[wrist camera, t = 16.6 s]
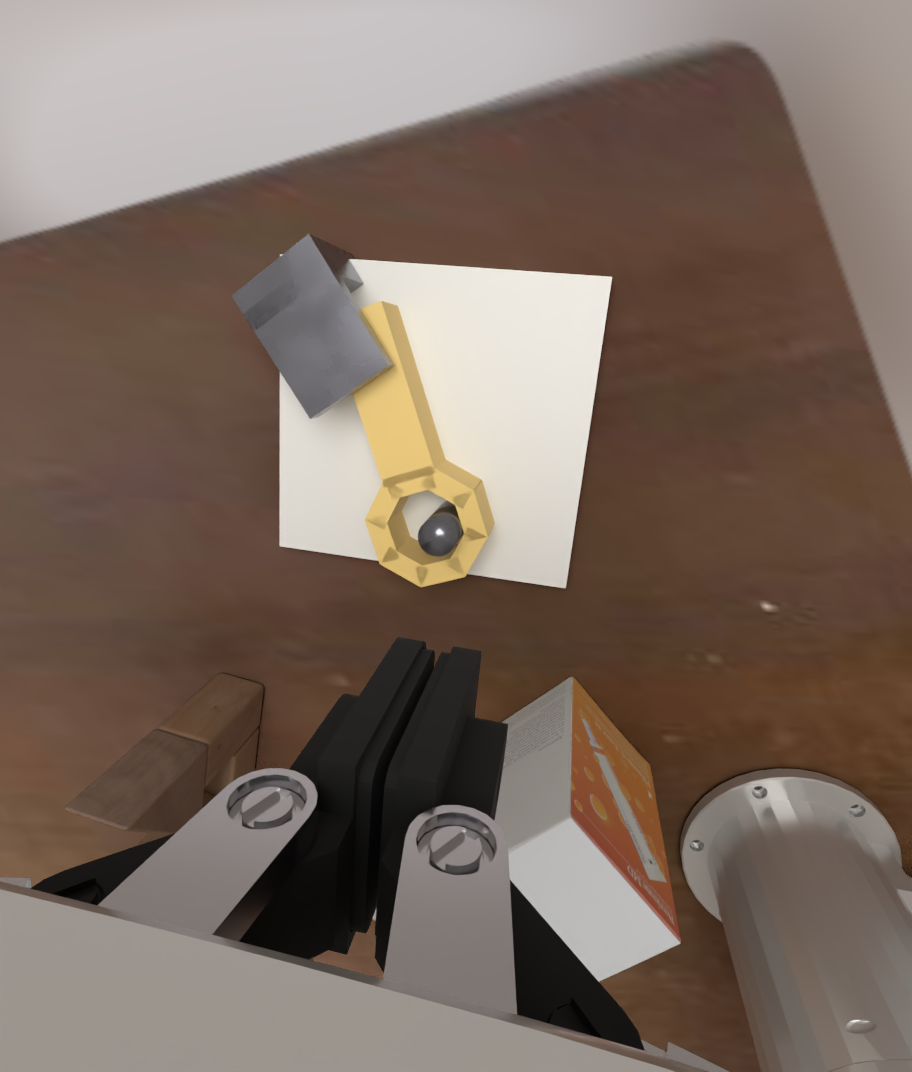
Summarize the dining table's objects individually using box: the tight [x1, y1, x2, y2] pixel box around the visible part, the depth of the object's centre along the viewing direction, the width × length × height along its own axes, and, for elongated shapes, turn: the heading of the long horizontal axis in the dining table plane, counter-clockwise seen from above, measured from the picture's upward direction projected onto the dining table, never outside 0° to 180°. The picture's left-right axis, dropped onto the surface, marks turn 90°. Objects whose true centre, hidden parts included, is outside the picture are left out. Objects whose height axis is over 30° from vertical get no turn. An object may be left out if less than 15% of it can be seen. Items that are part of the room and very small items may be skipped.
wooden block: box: [65, 673, 264, 845], centre depth 37 cm, size 4×11×18 cm, turn 169°
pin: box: [418, 501, 463, 557], centre depth 34 cm, size 2×2×6 cm
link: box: [353, 301, 495, 587], centre depth 34 cm, size 15×6×3 cm, turn 18°
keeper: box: [232, 234, 394, 419], centre depth 33 cm, size 7×5×6 cm
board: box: [280, 254, 612, 588], centre depth 35 cm, size 18×17×1 cm
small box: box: [494, 677, 681, 982], centre depth 34 cm, size 8×6×13 cm
